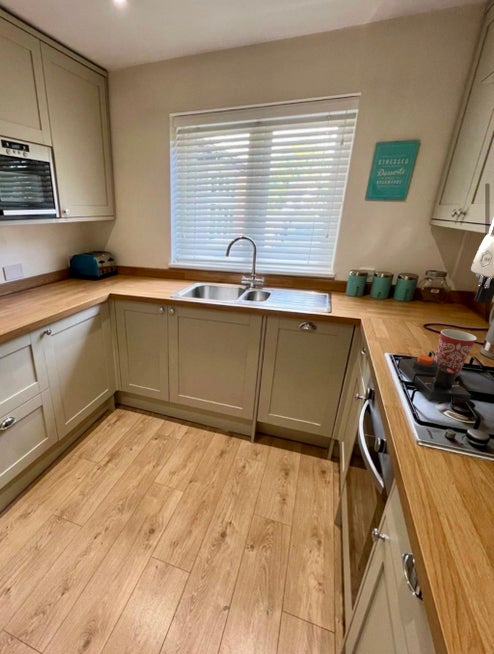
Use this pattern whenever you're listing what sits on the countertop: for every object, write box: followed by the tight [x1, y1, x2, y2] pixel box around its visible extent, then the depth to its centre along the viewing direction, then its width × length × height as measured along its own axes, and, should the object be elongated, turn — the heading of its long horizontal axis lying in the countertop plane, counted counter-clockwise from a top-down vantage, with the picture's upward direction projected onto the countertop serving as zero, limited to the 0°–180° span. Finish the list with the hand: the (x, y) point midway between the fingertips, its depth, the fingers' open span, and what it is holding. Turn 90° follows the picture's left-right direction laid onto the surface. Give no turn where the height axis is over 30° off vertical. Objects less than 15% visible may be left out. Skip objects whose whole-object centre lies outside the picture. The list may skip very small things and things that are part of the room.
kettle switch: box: [417, 354, 434, 365], centre depth 104 cm, size 4×4×2 cm
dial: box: [433, 366, 457, 389], centre depth 94 cm, size 4×4×5 cm
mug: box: [433, 329, 478, 378], centre depth 107 cm, size 13×9×14 cm
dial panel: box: [412, 376, 472, 404], centre depth 96 cm, size 10×9×3 cm
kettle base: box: [398, 356, 438, 383], centre depth 105 cm, size 9×10×5 cm
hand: (482, 301), depth 89 cm, fingers closed
